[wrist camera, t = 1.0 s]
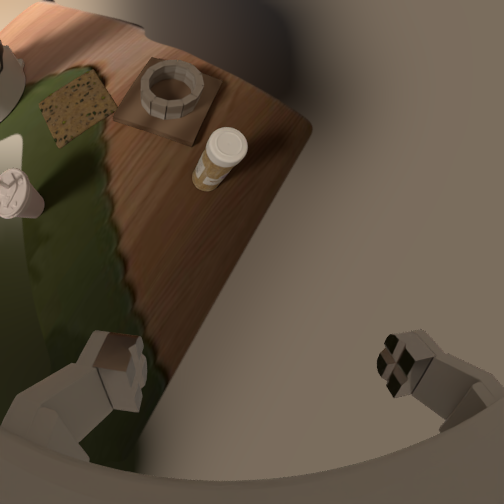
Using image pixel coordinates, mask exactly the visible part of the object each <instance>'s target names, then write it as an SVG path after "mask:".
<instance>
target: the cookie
mask: <svg viewBox="0 0 504 504" xmlns="http://www.w3.org/2000/svg"><path fill="white" fill-rule="evenodd" d="M39 107H40V109H41V112H42V114H43V117H44V118H45V120H46V123H47V125H48V127H49V129H50V131H51V133H52V136H53V138H54V141H55V142H56V144H57V146H58V148H59V149H60V148H62V147H63V146H65V145H66V144H67V143H68V142H70V141H71V140H73V139H74V138H75V137H77V136H79V135H80V134H82V133H83V132H84V131H85V130H87V129H89V128H90V127H91V126H93V125H95V124H97V122H99V121H101V120H103V119H105V118H106V117H107V116H109V115H111V114H112V113H114V112H115V111H116V110H117V109H118V107H117V105H116V103H115V102H114V100H113V99H112V98H111V95H110V94H109V93H108V91H107V89H106V88H105V87H104V85H103V84H102V81H101V80H100V79H99V77H98V75H97V74H96V72H95V70H91V71H88V72H86V73H85V74H83V75H81V76H80V77H78V78H76V79H75V80H73V81H72V82H70V83H68V84H67V85H65V86H64V87H62V88H60V89H59V90H57V91H56V92H54V93H52V94H50V95H49V96H48V97H47V98H45V99H44V100H43V101H41V102H40V103H39Z"/></svg>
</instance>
